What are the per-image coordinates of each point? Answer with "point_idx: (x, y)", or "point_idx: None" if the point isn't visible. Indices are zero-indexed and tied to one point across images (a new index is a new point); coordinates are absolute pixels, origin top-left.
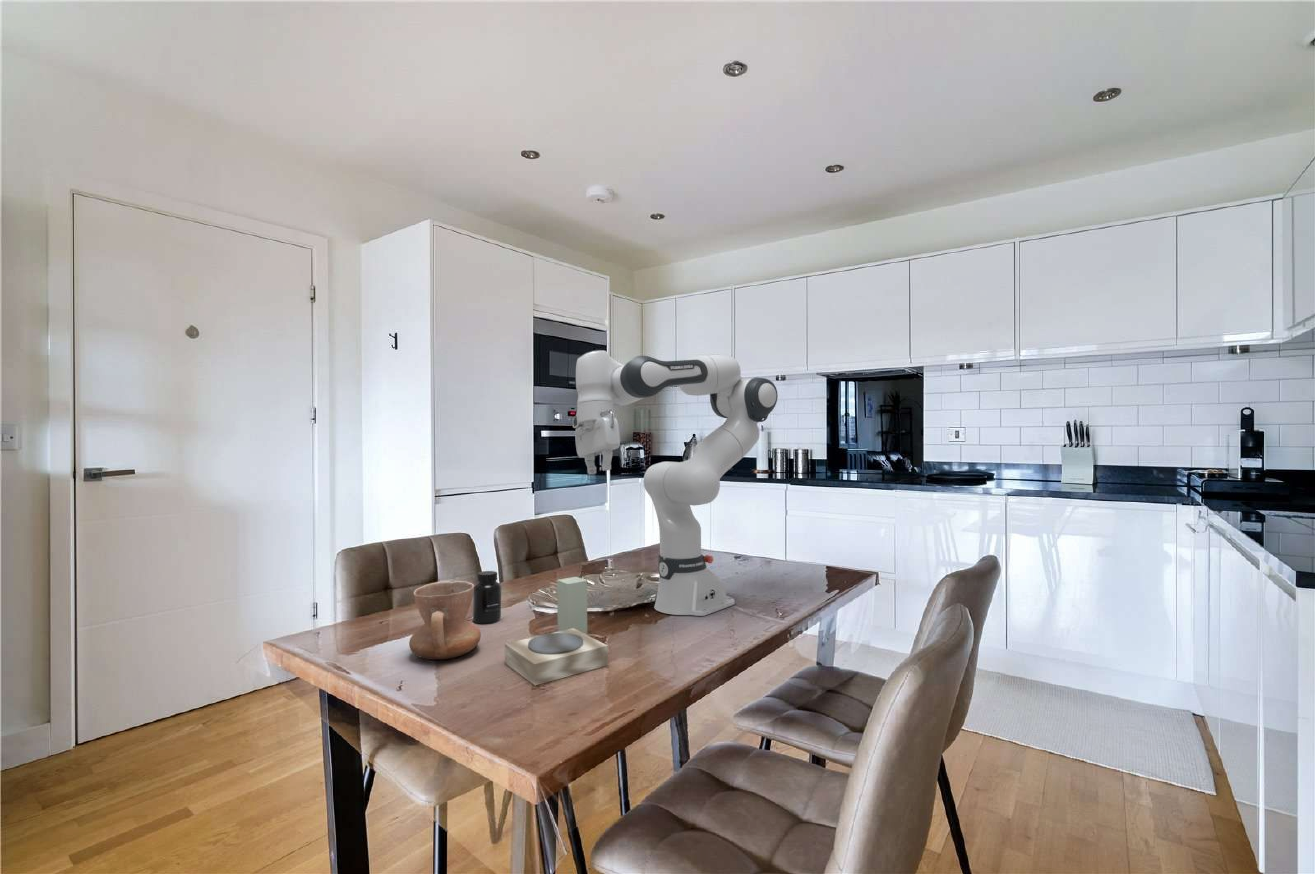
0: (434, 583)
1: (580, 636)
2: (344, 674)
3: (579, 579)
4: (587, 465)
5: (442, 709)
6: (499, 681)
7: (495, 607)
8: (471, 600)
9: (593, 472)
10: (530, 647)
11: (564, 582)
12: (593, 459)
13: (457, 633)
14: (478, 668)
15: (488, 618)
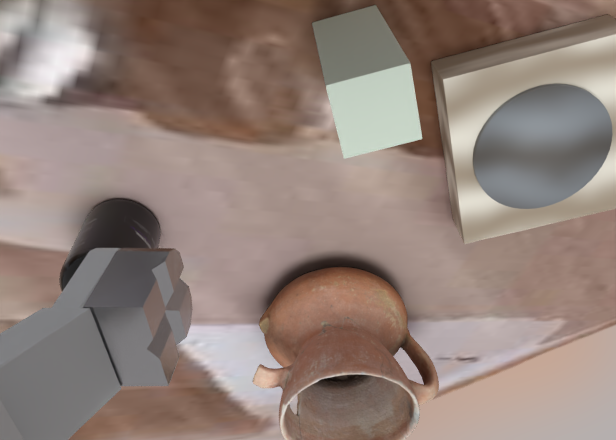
0: (286, 435)
1: (521, 78)
2: None
3: (377, 84)
4: (88, 408)
5: (589, 311)
6: (538, 235)
7: (146, 235)
8: (366, 349)
9: (177, 283)
10: (542, 206)
11: (394, 143)
12: (6, 420)
13: (391, 327)
14: (452, 261)
15: (158, 235)
